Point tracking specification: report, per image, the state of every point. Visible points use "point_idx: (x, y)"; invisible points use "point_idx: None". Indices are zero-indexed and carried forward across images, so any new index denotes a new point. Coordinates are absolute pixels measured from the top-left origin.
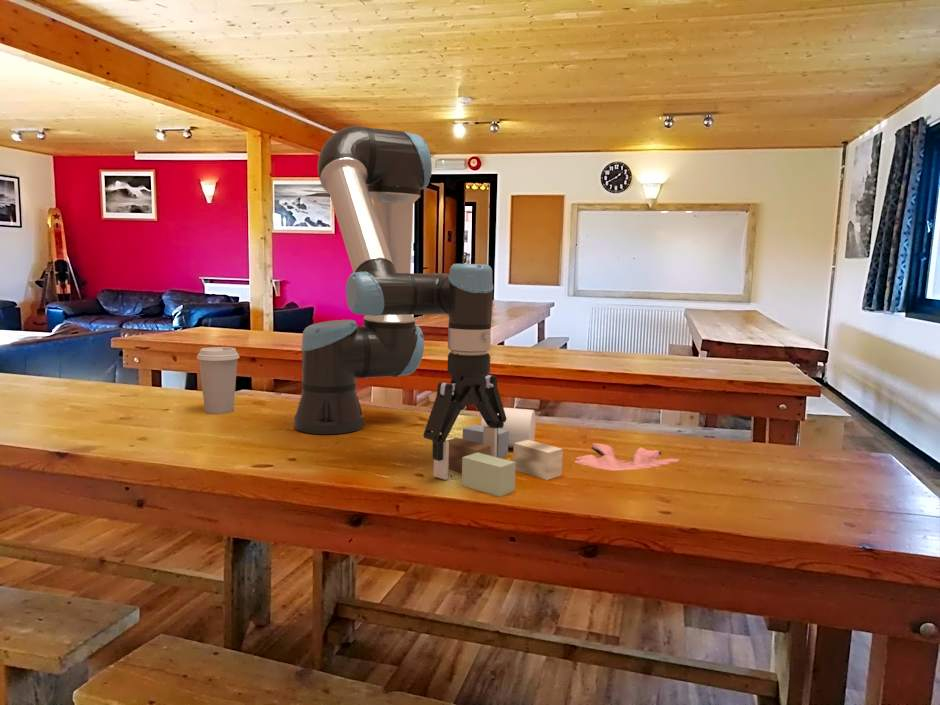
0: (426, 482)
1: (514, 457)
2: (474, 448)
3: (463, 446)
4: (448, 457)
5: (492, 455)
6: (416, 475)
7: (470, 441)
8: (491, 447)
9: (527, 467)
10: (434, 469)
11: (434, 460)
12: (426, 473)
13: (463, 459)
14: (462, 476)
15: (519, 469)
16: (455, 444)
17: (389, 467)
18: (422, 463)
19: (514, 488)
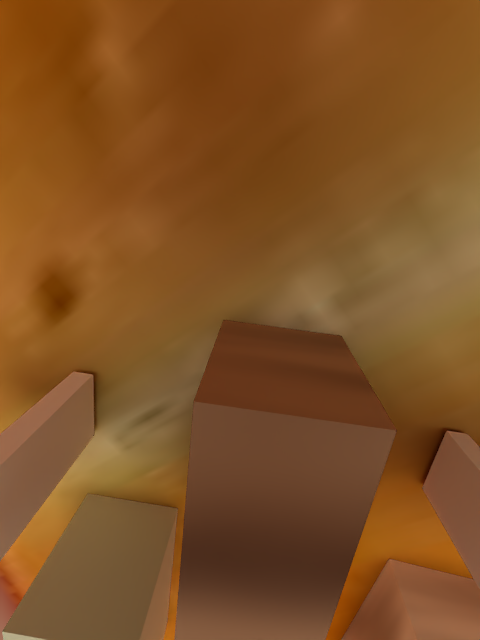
0: (8, 377)
1: (408, 626)
2: (195, 623)
3: (188, 566)
4: (27, 522)
5: (445, 512)
6: (40, 287)
7: (342, 554)
8: (475, 550)
9: (367, 638)
10: (53, 393)
11: (18, 423)
12: (99, 309)
13: (12, 621)
14: (66, 529)
15: (377, 590)
16: (192, 512)
17: (20, 50)
18: (224, 181)
19: (164, 631)
